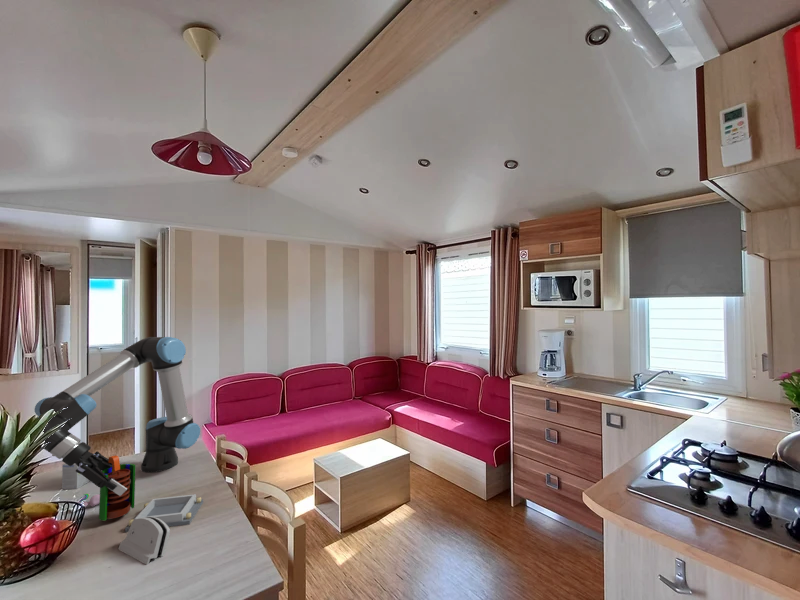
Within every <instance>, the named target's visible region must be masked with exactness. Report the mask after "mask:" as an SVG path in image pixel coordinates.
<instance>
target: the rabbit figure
mask: <svg viewBox="0 0 800 600" xmlns="http://www.w3.org/2000/svg"><path fill="white" fill-rule="evenodd" d="M83 496H84V497H81V499H80V500H79V501H78V502H76V503H82V501H83V502H84V503H83V504H84V505H85V508H86V507H87V506H90V507H93V506H94V507H96V506H97V505H99V502H100V493H99V494H94V495H93V496H92V497H91V498H89V497H90V494H89V493H83ZM88 498H89V501H86V500H87V499H88ZM95 505H96V506H95Z"/></svg>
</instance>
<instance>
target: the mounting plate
mask: <svg viewBox="0 0 800 600" xmlns="http://www.w3.org/2000/svg"><path fill="white" fill-rule="evenodd" d="M203 504H204V499H203V498H202V497H199V496H198V497H197V494H196V493H194V494H188V495H187V494H186V495H184V494H183V495H177V496H168V497H158V498H152V500H150V501H149V502H146V503H144V504H143V509H142V510H141V511H140V512H139V513H138V514H137V515H136V516H135V517H134V518H133V519H132V518H131V519H129V520H128V525H127V526H126V527H125V529H124V533H128V531H129V529H130V526H131V524H132V522H133V520H135V519H138V518H142V517H155V518H159V519H161V520H162V521H164V522H165V523H166V524H167V526H168V527H169V528H170V526H172V527H176V526H177V527H178V525H180V526H185V525H187V524H188V525H190V524H191V523H192V521H193V520H194V518H195V517H196V515H197V514H198V512H199V510H200V509H201V507H202V505H203ZM192 519H193V520H192Z"/></svg>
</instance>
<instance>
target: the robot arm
mask: <svg viewBox="0 0 800 600" xmlns="http://www.w3.org/2000/svg"><path fill="white" fill-rule="evenodd" d="M186 350H187V349H186V346H185V343H184V342H183V341H182V340H180V339H179V338H176V337H171V336H148V337H145V338H143V339H140V340H138V341H136V342H134V343H133V344H131V345H129V346H128V347H126V348H124V349H122V350H121V351H120V354H119V355H117V356H116V357H115V358H112V359H111V360H110V361H108V362H106V363H105V364H103V365H102V366H100V367H99V368H97V369H95V370H93V371H92V372H91V373H88V375H86V376H84V377H82V378H81V379H79V380H78V381H77V382H75V383H73V384H71V385H70V386H68V387H66V389H64V390H62V391H60V392H58V393H57V394H56V395H54V396H51V397H45V398H42V399H41V400H39V401H38V402H37V403H36V404H35V406H34V408H33V409H34V414H35V415H36V416H37V417H39V416H40V415H41V414H43V413H44V412H46V411H47V410H50V409H54V411H55V412H57V411H59V412H61V411H60V410H62V409H63V408H67V407H68V408H67V409H65V410H63V411H62V412H61V413H59V414H57V415H56V416H55V417H53V418H52V419H51V420H50V421H49V422H48V424H47V425H46V427H45V429H44V431H43V432H44V433H45V432H46V431H47V430H49V429H50V428H52V427H54V426H56V425H57V424H60V423H62V422H63V421H65V420H67V419H69V418H72V419H70V420H68V421H67V422H66V423H65V425H64V426H63V427H62V428H61V429H59V430H58V431H57V432H55V433H54V434H53V435H51V436H50V437H49V438H47V439H46V440H45V443H48V442H51V443H49V444H48V445H47V446H46V447H45V448H42V449H43V450H45V451H46V452H48V453H50V454H51V456H52V457H55V458H57V459H59V460H61V462H63V464H65V463H66V464H67V465H69V466H72V465H73V464H74V463H75V464H76V465H77V466H78V469H77V470H76V472H77V473H79V474H82V475H83V476H84V477H86V478H87V479H88V480H90V482H91V483H93V484H94V485H95V486H96V487H98V488H99V489H100V488H103V487H104V486H106V487H107V488H109V489H110V490H112V491H113V492H115V493H116V494H118V495H119V496H121V495H122V494H123V493H124V492H125V491H126V490H127V488H126V487H124V486H123V485H121V484H120V483H118V482H117V481H115V480H114V479H111V480H110V479H109V478H108V477H106V476H105V474H104V473H103V472H102V471H103V470H105V469H107V468H111V467H112V463H109V458H107V457H106V456H104V455H103V454H102V453H100V452H99V451H96V452H94V453H93V452H91V451H90V450H91V449H92V447H91V446H90V445H88V444H87V443H86V442H84V441H82V440H81V438H79V437H77V436H76V435H74V434H73V433H72V432H70V430H71V429H73V427H75V426H76V425H77V424H78V423H80V422H81V421H82V420H83V419H84V418H86V417H88V415H90V413H91V412H93V411H94V410H95V409H96V408H97V404H98V403H97V402H96V400H95V399H93V397H92V395H94V394H96V393H97V392H98V391H100V390H101V389H104V387H106V386H107V385H109V384H111V382H113V381H115V380H116V379H118V378H119V377H120V376H122V375H124V374H125V373H126V372H128V371H129V370H131V369H133V368H134V369H135V368H138V367H139V366H141V365H143V364H145V363H151V366H152V370H153V371H154V372H155V371H156V372H157V375H158V380H159V381H158V382H159V384H160V390H161V396H162V401H163V406H164V411H165V415H166V416H161V417H158V418H154V419H152V420H149V421H147V423H146V426H145V454H144V457H143V459H142V462H141V464H140V466H141V467H140V470H142V472H143V473H156V471H157V472H161V470H162V471H165V470H164V469H166V470H169V469H171V468H174V467H175V466H176V465H177V464H179V456H178V454H177V451H176V449H179V450H181V449H183V450H184V449H190V448H191V447H192V446H193V445H195V443H196V442H198V439H199V438H200V435H201V427H200V425H199V424H198V423H197V422H194V420H193V415H192V414H190V413H188V411H189V410H188V406H187V401H186V396H185V391H184V384H183V381H182V380H183V379H182V374H181V368H180V367H181V365H183V360H184V358H185V355H186V354H187V353H186ZM81 441H82V442H81ZM174 465H175V466H174ZM170 467H171V468H170ZM168 468H169V469H168ZM129 479H130V478H129ZM130 483H131V479H130ZM130 483H129V484H130Z"/></svg>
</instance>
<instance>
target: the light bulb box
mask: <svg viewBox="0 0 800 600" xmlns="http://www.w3.org/2000/svg"><path fill="white" fill-rule="evenodd" d="M61 466H62V467H61V468H62V471H61V472H62V474H61V475H62V476H61V481H62V484H61V489H62V490H77V489H79V488H81V487H83V486H85V485H86V484H88V483H90V482H91V481H90V480H88V479H87V478H86V477H84V476H83V475H82V474H79V473H77V472H76V470H77V469H78V466H77V465H76V464H75V463H74V464H73V465H72V466H69V465H67V464H66V463H63V464H62V465H61Z"/></svg>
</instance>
